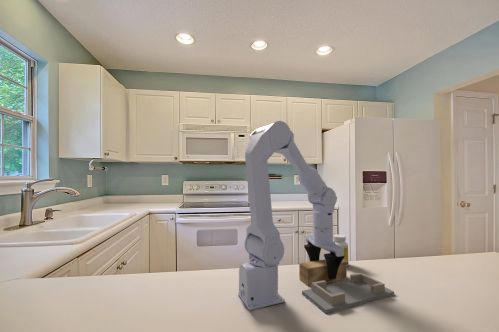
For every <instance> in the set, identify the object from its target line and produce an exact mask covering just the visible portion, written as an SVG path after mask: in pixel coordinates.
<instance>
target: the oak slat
mask: <svg viewBox="0 0 499 332" xmlns="http://www.w3.org/2000/svg"><path fill="white" fill-rule="evenodd" d="M298 266H299V282H301V283H303V284H304V285H305V286H307V287H311V283H313V282H318V281H322V280H324V281H326V283H330V282H334V281H335V282H336V281H338V280H339V281H340V280H345V279H347V277H348V275H347V267H346V261H343V260H342V262H341V264H340V266H339V269H338V272H337V276H336V279H332V280H330V279H329V278H328V269H327V263H326V260H325V258H324V259H319V260H318V261H312V262H310V261H307V262H302V263H301V262H300V263H298Z"/></svg>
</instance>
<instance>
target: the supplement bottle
mask: <svg viewBox="0 0 499 332" xmlns="http://www.w3.org/2000/svg"><path fill="white" fill-rule="evenodd" d="M346 240H347V238H346V235H344V234H333V241H335V244H336V245H338V246H339V247H341V248H343V249H344V259H343V261H346V268H347V267H348V266H349V244H348V243H347V242H346Z"/></svg>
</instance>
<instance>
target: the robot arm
mask: <svg viewBox="0 0 499 332" xmlns="http://www.w3.org/2000/svg"><path fill="white" fill-rule="evenodd" d="M275 153H276V154H280V155H282V156H283V157H284V158H285V159H286V160H287V162H288V163H289V164H290V165H291V166H292V168H294V170H295V171H296V172H297V174H298V175H297V179H298V182H299V183H300V184H301V186H302V187H303V188H304V190H305V191H306V194H307V200H308V202H309V203H310V204H311V205H312V235H306V236H305V243H307V244H304V245H303V248H304V249H305V251H306V252H307V255H308V259H309V262H312V261H318V260H320V256H321V251H322V249H323V250H324V251H327V252H329V253H324V254H323V257H324V259H325V260H326V263H327V269H328V278H329V279H330V280H332V279H336V276H337V272H338V269H339V266H340V264H341V262H342V260H343V259H344V249H343V248H341V247H339V246H338V245H336V244H335V241H334V239H333V235H334V221H333V220H334V217H333V213H334V211H335V206H336V204H337V202H338V196H337V194H336V192H335V190H334V189H333V188H331V187H329V186H327V183H326V182H325V180H323V178H322V177H321V176H320V173H319V170H318V169H316V168H315V167H309V164H308V163H307V161H306V160H305V158H304V156H303V155H302V152H301V151H300V149H299V148H298V146H297V144H296V143H295V135H294V132H293V131H292V130H291V128H290V126H289V125H288V124H287V123H286V122H285V121H283V120H276V121H274V122H272V123H270V124H268V125H264V126H260V127H257V128H255V130H253V131H252V132H251V133H250V134H249V142H248V145H247V148H246V150H245V153H244V154H245V155H244V157H245V158H244V159H245V168H246V169H245V170H246V171H245V172H246V180H247V181H246V182H247V191H248V202H249V214H250V225H248V226H247V227H246V237H245V240H244V249H245V251H246V252H247V253H248V261H247V262H245V263H242V264H239V265H240V266H239V269H238V292H237V294H238V297H239V298H240V299H241V300H242V302H243V303H244V305H245V306H246V308H247V310H248V311H249V310H250V311H251V310H256V309H261V308H264V307H265V308H266V307H268V306H269V307H270V306H273V305H277V304H282V303H285V302H286V300H285V298H284V297H283V296H282V295H281V294H280V293H279V265H280V262H281V261H282V260H283V257H284V254H285V247H284V246H285V245H284V243H283V241H282V239H281V236H280V234H281V233H280V231H279V229H278V228H277V227H276V225H275V223H274V221H273V219H274V218H273V208H272V198H271V197H272V196H271V188H270V187H271V186H270V175H269V173H270V172H269V164H268V163H269V162H268V160H269V159H270V158H271V157H272V156H273V155H274V154H275Z"/></svg>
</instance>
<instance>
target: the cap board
mask: <svg viewBox="0 0 499 332" xmlns="http://www.w3.org/2000/svg"><path fill="white" fill-rule="evenodd" d="M349 277H350V278H349V279H350V280H345V281H342V282H336V283H332V284H327V282H326V281H324V280H322V281H318V282H313V283H311V286H310V287H311V288H308V289H305V290H302V291H301V295H302V296H303V297H305V299H307V300H309V302H311V303H312V304H313V305H314V306H316V307H317V308H318V309H320V310H321V311H322V312H323V313H324V314H328V313H329V314H330V313H332V312H337V311H340V310H344V309H347V308H352V307H354V306H355V307H356V306H359V305H363V304H365V303H371V302H373V301H376V300H380V299H384V298H388V297H391V296H392V297H393V296H395V291H394V290H392V289H390V288H388V287H385V284H386V283H383V282H381V281H380V280H378V279H375V278H373V277H371V276H369V275H367V274H364V273H362V272H357V273H353V274H350V276H349Z"/></svg>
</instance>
